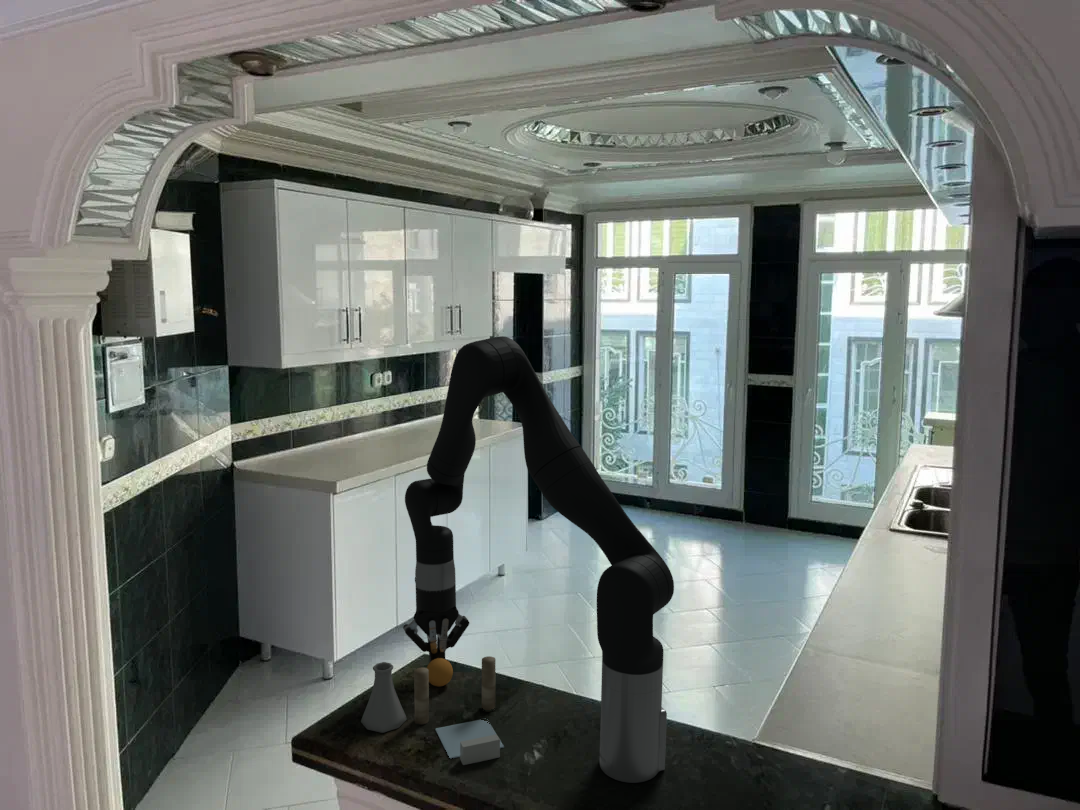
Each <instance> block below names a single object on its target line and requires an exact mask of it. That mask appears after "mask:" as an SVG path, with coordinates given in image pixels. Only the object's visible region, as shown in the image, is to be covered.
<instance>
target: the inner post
mask: <svg viewBox="0 0 1080 810" xmlns="http://www.w3.org/2000/svg"><path fill="white" fill-rule="evenodd" d="M482 708H483V709H485V710H491V709H494V708H495V709H496V657H494V656H484V657H481V709H482ZM495 709H494V710H495Z"/></svg>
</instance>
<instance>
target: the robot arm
mask: <svg viewBox="0 0 1080 810" xmlns="http://www.w3.org/2000/svg"><path fill="white" fill-rule="evenodd" d="M447 388H448V389H447V393H446V400H445V404H444V409H443V410H444V411H443V415H442V421H441V425H440V428H439V431H438V435H437V437H436V440H435V442H434V444H433V447H432V449H431V452H430V454H429V456H428V459H427V463H426V473H427V474H428V476H429V478H425V479H419V480H415V481H413V482H411V483H410V484H409V485H408V486H407V488H406V491H405V494H404V503H405V504H404V505H405V508H406V510H407V514H408V517H409V520H410V523H411V527H412V531H413V534H414V539H415V561H416V562H415V568H414V570H415V572H414V574H415V576H414V584H415V607H416V608H415V612H414V615H413V620H411V621H410V622H409V624H408V623H406V624H404V625H403V626H402V628H403V630H404V633H405V634H406V636H407V637H408V638H409V639H410V640H411V641H412V642H413V643H414V644H415V646H417V647H418V648H419V649H420V651H421V652H424V653H426V652H428V664H429V663H430V662H431V661H432V660H434V659H437V658H443V659H446V651H447V650H448V649H449V648H454V647H455V646H456V644H457V643H458V641H459V640H460V638H461V637H462V635H463V634H464V633H465V631H466V630H467V628H468V627H469V625H470V621H469V619H468V617H466V616H465V615H461V614H460V613H459V610H458V609H457V592H456V591H457V590H456V589H457V587H456V585H457V584H456V565H455V558H454V534H453V531H452V529H450V528H449V527H447V526H444V525H433V523H432V520H431V518H433V517H437V516H442V515H447V514H451V513H453V512H455V511H456V510H458V508H459V507H460V506H461V504H462V502H463V498H464V496H463V494H464V481H465V473H466V471H467V469H468V466H469V465H470V462H471V460H472V458H473V456H474V452H475V449H476V441H477V440H476V439H477V437H476V431H475V429H474V424H473V418H474V416H475V412H477V411H476V410H477V409H478V407H479V406H480V404H481V402H482V401H483V400H484V398H487V397H492V396H495V395H498V394H502V393H503V394H504V395H505V397H506V398H507V399H508V400H509V402H510V403H511V405H512V406H513V409H514V411H515V412H516V414H517V415H518V418H519V421H520V423H521V428H522V436H523V437H522V438H523V439H522V440H523V452H524V459H525V460H524V461H525V466H526V469H527V471H528V473H529V475H530V476H531V478H532V479H533V482H534V483H535V484H536V486H537V488H538V489H539V491H540V492H541V494H542V495H543V497H544V498H545V500H546V501H547V503H549V505H550V506H551V507H552V508H553V509H554V510H555V511H556V512H558V513H559V514H560V515H562V517H564V518H565V519H567V520H568V521H569V522H571V523H572V524H573V525H575V526H576V527H577V528H579V529H580V530H582V531H583V532H584V533H586V534H587V535H588V536H589V537H590V538H591V539H592V540H593V541H594V542H595V543H596V545H598V547H599V548H600V550H601V551H602V553H603V554H604V556H605V557H606V559H607V560H608V562H609V563H610V566H609V567H607V568H606V569H605V570H604V571H603V572H602V574H601V575H600V577H599V580H598V582H597V583H598V584H597V588H596V629H597V630H596V631H597V641H598V645H599V646H600V648H601V686H600V687H601V692H600V693H601V694H600V695H601V696H600V697H601V699H600V729H599V730H600V732H599V733H600V734H599V735H600V737H599V752H598V753H599V767H600V769H601V772H603V773H604V774H605V776H608V777H610V778H612V779H614V780H616V781H619V782H622V783H628V784H629V783H633V784H637V783H643V782H647V781H649V780H651V779H653V778H655V776H657V774H658V773H659V772H661V771H664V770H665V769H666V768H665V767H666V750H667V749H666V746H667V717H668V716H667V715H668V713H667V710H666V709H665V708H663V707H662V706H663V704H662V701H663V679H664V678H663V677H664V676H663V675H664V647H663V644H662V643H661V641H660V640H659V639H658V638H657V637H655V636H654V614H656V613H658V612H659V611H661V610H662V609H663V608H664V607H666V606H667V605H668V604H669V602H670V601H671V600H672V598H673V596H674V593H675V584H674V583H675V582H674V578H673V575H672V572H671V570H670V568H669V566H668V564H667V563H666V561H665V560H664V559H663V557H662V556H661V555H660V554H659V552H658V551H657V550H656V549H655V547H654V546H653V545H652V544H651V543H650V542H649V540H648V539H647V538H646V537H645V536H644V534H643V533H642V532H641V530H640V529H638V527H637V526H636V525H635V523H634V522H633V521H632V520H631V518H630V517H629V516H628V515H627V513H626V512H625V510H624V508H623V507H622V506H621V504H620V503H619V501H618V500H617V497H615V495H614V494H613V493H612V491H611V489H610V488H609V487H608V485H607V483H606V482H605V481H604V480H603V478H602V476H601V475H600V474H599V471H598V470H597V468H596V467H595V465H594V463H593V462H592V461H591V459H590V458H589V456H588V455H587V453H586V451H585V450H584V448H583V447H582V445H581V444H580V443H579V442H578V441H577V438H576V437H575V436H574V434H572V432H571V430H570V429H569V427H568V426H567V423H565V421H564V419H563V417H562V416H561V414H560V413H559V412H558V409H556V407H555V406H554V404H553V402H552V400H551V398H550V397H549V396H548V394H547V392H546V389H544V386H543V385H542V383H541V380H540V379H539V377H538V375H537V373H536V371H535V369H534V368H533V366H532V363H531V362H530V360H529V358H528V357H527V355H526V353H525V351H524V350H523V348H521V346H520V345H519V344H518V343H517V342H516V341H515V340H514V339H512V338H511V337H507V336H503V335H502V336H495V337H490V338H484V339H480V340H475V341H472V342H469V343H466V344H465V345H463V346H462V347H460V348H459V350H458V351H457V353H456V355H455V356H454V360H453V363H452V367H451V371H450V377H449V383H448V387H447ZM417 626H418V627H419V628H420V630H421V631H422V632H423V633H424V634H425V635H426V638H427V642H426V641H425V640H424V639H423V638H422V637H421V636H420V635H419V634H418V632H419V630H418V627H417ZM452 627H453V628H452ZM451 628H452V629H451ZM450 630H451V631H450ZM449 631H450V632H449ZM448 633H449V634H448Z"/></svg>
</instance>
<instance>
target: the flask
mask: <svg viewBox="0 0 1080 810" xmlns="http://www.w3.org/2000/svg"><path fill="white" fill-rule="evenodd" d="M393 669H394V665H393V664H392V663H391V662H386V661H382V662H378V663H376V664H375V665H373V666H372V670H373V671H374V682H373V687H372V690H371V694H370V697H369V699H368V702H367V705H366V707H365V710H364V712H363V714H362V718H361V721H360V722H361V724H362V725H363V727H365V729H366V730H368V731H373V732H378V733H381V734H383V733H386V732H389V731H392V730H396V729H399V728H400V727H401V726H402V725H403V724H404V723H405V722H406V721H407V720H408V718H407V716H406V713H405V711H404V709H403V707H402V705H401V702H400V699H399V697H398V694H397V692H396V689H395V685H394V681H393V676H392V675H393V674H392V671H393Z"/></svg>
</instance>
